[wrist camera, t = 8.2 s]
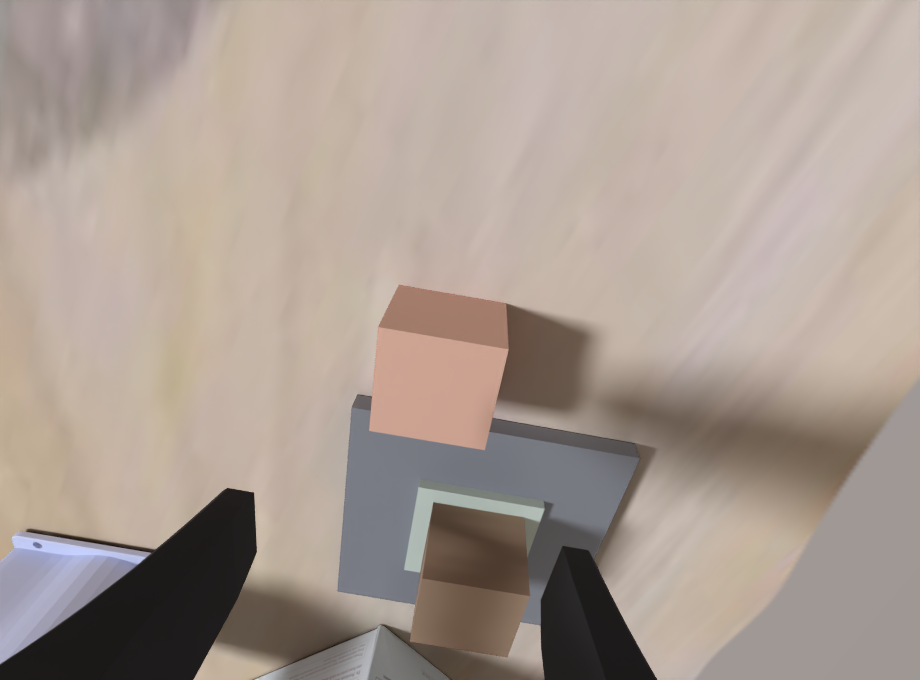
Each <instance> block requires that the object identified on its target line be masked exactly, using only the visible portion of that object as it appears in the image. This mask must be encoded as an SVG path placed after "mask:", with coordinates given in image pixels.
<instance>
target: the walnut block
mask: <svg viewBox="0 0 920 680" xmlns="http://www.w3.org/2000/svg"><path fill="white" fill-rule="evenodd" d="M529 598H530V588H529V574H528V560H527V546H526V532H525V518H524V517H519V516H513V515H507V514H501V513H495V512H489V511H483V510H477V509H471V508H465V507H459V506H453V505H447V504H442V503H436V502H433V506H432V512H431V517H430V522H429V527H428V532H427V538H426V543H425V548H424V553H423V559H422V564H421V571H420V577H419V584H418V590H417V597H416V603H415V610H414V616H413V623H412V630H411V636H410V642H415V643H422V644H428V645H434V646H440V647H446V648H452V649H459V650H465V651H471V652H477V653H483V654H490V655H496V656H502V657H508V654H509V651H510V649H511V646H512V643H513V641H514V638H515V635H516V633H517V630H518V627H519V625H520V622H521V619H522V617H523V614H524V611H525V608H526V606H527V603H528V600H529Z"/></svg>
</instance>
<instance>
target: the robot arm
mask: <svg viewBox="0 0 920 680" xmlns="http://www.w3.org/2000/svg"><path fill="white" fill-rule="evenodd" d="M12 542H13V545H14V547H15V548H14V549H13V550H12V551H11V552H10V553H9V554H8V555H7V556H6V557H4V558H3V559H2V560H1V561H0V680H193V679H194V677H195V676H196V674H197V672H198V670H199V668H200V667H201V665H202V663H203V661H204V659H205V657H206V656H207V654H208V652H209V650H210V648H211V646H212V645H213V643H214V641H215V639H216V637H217V635H218V634H219V632H220V630H221V628H222V626H223V624H224V623H225V621H226V619H227V617H228V615H229V613H230V611H231V610H232V608H233V606H234V604H235V602H236V600H237V598H238V596H239V594H240V591H241V589H242V587H243V584H244V582H245V580H246V577H247V575H248V572H249V570H250V568H251V565H252V563H253V560H254V558H255V555H256V553H257V546H256V525H255V503H254V493H253V492H247V491H242V490H236V489H230V488H227V489H225V490H224V491H222V492H221V493H220V494H219V495H218V496H217V497H216V498H215V499H213V500H212V501H211V502H210V503H209V504H208V505H207V506H206V507H204V508H203V509H202V510H201V511H200V512H199V513H198V514H197V515H195V516H194V517H193V518H192V519H191V520H190V521H189V522H188V523H186V524H185V525H184V526H183V527H182V528H181V529H179V530H178V531H177V532H176V533H175V534H174V535H172V536H171V537H170V538H169V539H168V540H167V541H165V542H164V543H163V544H162V545H161V546H159V547H158V548H157V549H156V550H155V551H153V552H152V553H150V552H144V551H138V550H132V549H126V548H120V547H114V546H108V545H102V544H96V543H90V542H84V541H78V540H72V539H66V538H60V537H54V536H48V535H42V534H36V533H30V532H24V531H20V532H17V533H16V534H15V535H14V536H13V537H12ZM541 650H542V659H543V668H544V676H545V680H657V678H656V677H655V675H654V673H653V671H652V670H651V668H650V666H649V665H648V663H647V661H646V659H645V658H644V656H643V654H642V652H641V650H640V649H639V647H638V645H637V643H636V641H635V639H634V638H633V636H632V634H631V632H630V630H629V629H628V627H627V625H626V623H625V621H624V619H623V617H622V615H621V614H620V612H619V610H618V608H617V606H616V604H615V602H614V600H613V598H612V596H611V594H610V592H609V590H608V588H607V586H606V584H605V582H604V580H603V578H602V576H601V574H600V572H599V570H598V567H597V565H596V563H595V561H594V559H593V557H592V555H591V553H590V552H589V551H588V550H585V549H579V548H573V547H567V546H562V548H561V551H560V553H559V556H558V558H557V560H556V563H555V565H554V568H553V570H552V573H551V575H550V578H549V580H548V583H547V585H546V588H545V590H544V593H543V595H542V598H541Z"/></svg>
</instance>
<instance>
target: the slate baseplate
mask: <svg viewBox="0 0 920 680" xmlns="http://www.w3.org/2000/svg"><path fill="white" fill-rule="evenodd" d="M371 403H372V397H368V396H363V395H357V397H356V399H355V401H354V403H353V406H352V410H351V423H350V436H349V449H348V462H347V475H346V488H345V501H344V514H343V527H342V540H341V552H340V565H339V578H338V592H344V593H350V594H356V595H362V596H368V597H374V598H380V599H386V600H392V601H398V602H404V603H410V604H415V603H416V597H417V590H418V584H419V577H420V571H421V564H422V559H423V553H424V548H425V543H426V538H427V532H428V527H429V522H430V517H431V512H432V506H433V502H436V503H442V504H447V505H453V506H459V507H465V508H471V509H477V510H483V511H489V512H495V513H501V514H507V515H513V516H519V517H524V518H525V532H526V546H527V560H528V574H529V588H530V598H529V600H528V603H527V606H526V608H525V611H524V614H523V617H522V619H521V622H523V623H529V624H535V625H541V598H542V595H543V593H544V590H545V588H546V585H547V583H548V580H549V578H550V575H551V573H552V570H553V568H554V565H555V563H556V560H557V558H558V556H559V553H560V551H561V548H562V546H567V547H573V548H579V549H585V550H588V551H589V552H590V553H591V555H592V557H593V559H594V558H595V556H596V554H597V552H598V549H599V547H600V545H601V543H602V541H603V539H604V536H605V534H606V532H607V530H608V528H609V525H610V523H611V521H612V519H613V517H614V515H615V512H616V510H617V508H618V506H619V504H620V501H621V499H622V497H623V495H624V493H625V491H626V488H627V486H628V484H629V482H630V480H631V478H632V475H633V473H634V471H635V469H636V467H637V464H638V462H639V460H640V456H639V454H638V451H637V449H636V446H635V444H633V443H628V442H622V441H616V440H611V439H605V438H600V437H594V436H588V435H583V434H577V433H571V432H566V431H560V430H554V429H549V428H543V427H537V426H532V425H526V424H521V423H515V422H509V421H504V420H498V419H492V422H491V426H490V430H489V435H488V439H487V443H486V447H485V450H481V449H475V448H469V447H463V446H457V445H451V444H445V443H439V442H433V441H427V440H421V439H415V438H409V437H403V436H397V435H391V434H385V433H379V432H373V431H369V426H370V415H371Z"/></svg>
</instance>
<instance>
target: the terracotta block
mask: <svg viewBox="0 0 920 680" xmlns="http://www.w3.org/2000/svg"><path fill="white" fill-rule="evenodd" d="M508 350H509V345H508V327H507V309H506V303H501V302H495V301H490V300H484V299H478V298H472V297H466V296H461V295H455V294H449V293H443V292H437V291H432V290H426V289H420V288H414V287H408V286H403V285H399V286H398V288H397V290H396V292H395V294H394V296H393V298H392V300H391V302H390V304H389V306H388V308H387V310H386V312H385V314H384V316H383V318H382V320H381V322H380V324H379V326H378V335H377V346H376V358H375V369H374V381H373V392H372V403H371V415H370V426H369V431H373V432H379V433H385V434H391V435H397V436H403V437H409V438H415V439H421V440H427V441H433V442H439V443H445V444H451V445H457V446H463V447H469V448H475V449H481V450H485V447H486V443H487V439H488V435H489V430H490V426H491V422H492V418H493V414H494V409H495V405H496V401H497V397H498V392H499V388H500V384H501V380H502V376H503V371H504V367H505V363H506V359H507V355H508Z"/></svg>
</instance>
